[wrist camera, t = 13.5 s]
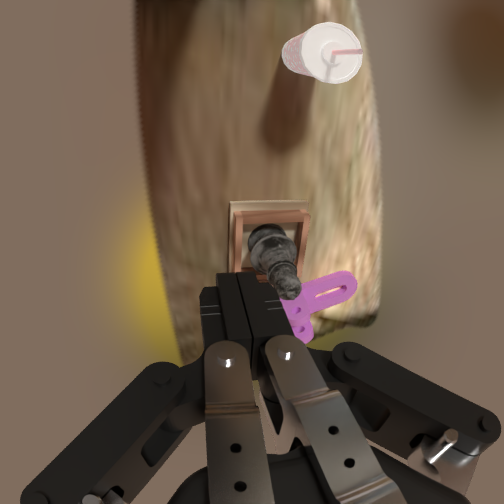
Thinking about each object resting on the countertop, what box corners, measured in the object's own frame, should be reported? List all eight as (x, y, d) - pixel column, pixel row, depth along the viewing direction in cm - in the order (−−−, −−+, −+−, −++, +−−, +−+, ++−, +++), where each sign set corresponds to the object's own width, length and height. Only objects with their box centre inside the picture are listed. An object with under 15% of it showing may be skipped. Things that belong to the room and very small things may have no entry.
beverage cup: (335, 53, 32) (404, 53, 20) (304, 89, 34) (364, 103, 22) (296, 21, 29) (353, 0, 18) (264, 58, 31) (307, 52, 20)
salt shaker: (267, 267, 45) (292, 328, 35) (235, 245, 42) (253, 306, 32) (297, 237, 43) (331, 293, 33) (267, 212, 41) (295, 266, 31)
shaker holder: (229, 201, 40) (233, 211, 37) (306, 199, 42) (314, 209, 39) (228, 274, 46) (231, 287, 43) (296, 269, 47) (302, 281, 45)
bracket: (281, 316, 52) (293, 347, 46) (274, 291, 49) (287, 323, 43) (354, 291, 53) (372, 318, 47) (353, 265, 49) (373, 292, 44)
